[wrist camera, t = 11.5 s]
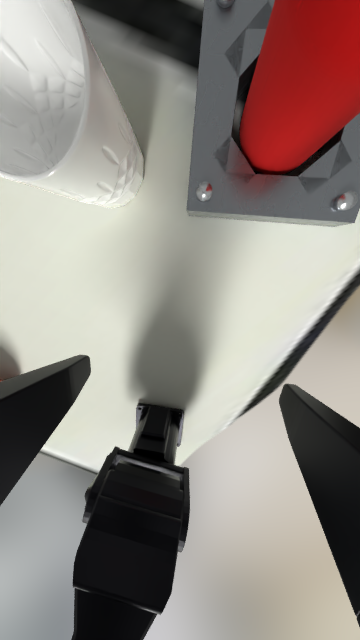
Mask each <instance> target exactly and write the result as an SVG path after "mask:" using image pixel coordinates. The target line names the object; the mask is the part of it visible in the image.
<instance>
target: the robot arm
mask: <svg viewBox="0 0 360 640" xmlns="http://www.w3.org/2000/svg"><path fill="white" fill-rule="evenodd" d="M90 373H91V367H90V358H89V356H86V355H77V356H74V357H72V358H69V359H66V360H63V361H60V362H57V363H54V364H51V365H48V366H45V367H42V368H39V369H36V370H33V371H30V372H27V373H24V374H21V375H18V376H16V377H13V378H10V379H7V380H4V381H1V382H0V505H1V504H2V503H3V501H4V500H5V498H6V497H7V496H8V494H9V493H10V491H11V490H12V489H13V487H14V486H15V485H16V483H17V482H18V480H19V479H20V478H21V476H22V475H23V473H24V472H25V471H26V469H27V468H28V466H29V465H30V464H31V462H32V461H33V459H34V458H35V457H36V455H37V454H38V452H39V451H40V450H41V448H42V447H43V445H44V444H45V443H46V441H47V440H48V438H49V437H50V436H51V434H52V433H53V431H54V430H55V429H56V427H57V426H58V425H59V423H60V422H61V420H62V419H63V418H64V416H65V415H66V413H67V412H68V411H69V409H70V408H71V406H72V405H73V403H74V402H75V400H76V398H77V397H78V395H79V393H80V391H81V390H82V388H83V386H84V385H85V383H86V381H87V379H88V378H89V376H90ZM279 404H280V408H281V412H282V415H283V419H284V423H285V427H286V430H287V434H288V438H289V441H290V443H291V446H292V449H293V451H294V454H295V457H296V459H297V462H298V465H299V467H300V470H301V473H302V475H303V478H304V481H305V483H306V486H307V488H308V491H309V494H310V496H311V499H312V501H313V504H314V507H315V510H316V512H317V514H318V518H319V520H320V523H321V525H322V528H323V531H324V533H325V536H326V539H327V541H328V544H329V547H330V549H331V552H332V555H333V557H334V560H335V562H336V565H337V568H338V570H339V573H340V576H341V578H342V581H343V584H344V586H345V589H346V592H347V594H348V597H349V600H350V602H351V605H352V607H353V610H354V613H355V615H356V616H357V621H358V624H359V627H360V428H359V427H357V426H356V425H354V424H353V423H351V422H350V421H348V420H347V419H345V418H344V417H342V416H341V415H340V414H338V413H336V412H335V411H333V410H332V409H331V408H329V407H328V406H326V405H325V404H323V403H322V402H320V401H319V400H317V399H315V398H314V397H313V396H311V395H310V394H308V393H307V392H305V391H304V390H302V389H301V388H299V387H298V386H296V385H294V384H285V385H284V386H283V389H282V393H281V395H280V398H279ZM140 407H141V408H140ZM183 418H184V412H183V411H182V410H179V409H172V408H166V407H160V406H153V405H147V404H138V405H137V408H136V431H135V434H134V437H133V439H132V442H131V445H130V447H129V450H128V451H126V450H122V449H120V448H119V447H115V448H114V449H113V451H112V453H110V454H109V455H108V456H107V457H106V460H105V462H104V464H103V466H102V468H101V470H100V472H99V473H98V475H97V476H96V478H95V479H94V480H93V482H92V483H91V484H90V486H89V487H88V489H87V491H86V493H85V500H86V506H85V512H84V516H83V522H84V523H87V526H86V529H85V531H84V534H83V537H82V540H81V542H80V545H79V547H78V550H77V553H76V557H75V562H74V571H73V587H74V588H75V600H74V633H73V636H72V640H143V639H144V637H145V636H146V634H147V632H148V630H149V628H150V626H151V625H152V623H153V621H154V619H155V617H156V615H157V614H160V615H161V613H162V612H163V610H164V608H165V605H166V604H167V601H168V599H169V597H170V595H171V592H172V584H173V579H174V572H175V566H176V559H177V552H182V550H183V548H184V544H185V541H186V536H187V530H188V523H189V513H190V495H189V493H190V492H189V469H188V468H186V467H184V468H183V467H179V466H176V465H174V464H175V457H176V449H177V447H179V446H180V443H181V434H182V426H183Z"/></svg>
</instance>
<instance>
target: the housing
mask: <svg viewBox="0 0 360 640" xmlns="http://www.w3.org/2000/svg"><path fill="white" fill-rule="evenodd" d="M274 2H275V0H204V12H203V24H202V35H201V47H200V59H199V71H198V83H197V94H196V106H195V118H194V130H193V141H192V153H191V165H190V177H189V189H188V200H187V213H188V215H189V216H199V217H212V218H226V219H239V220H252V221H265V222H278V223H291V224H304V225H318V226H331V227H335V226H341V225H346V224H351V223H355V220H356V217H357V214H358V211H359V209H360V113H359V114H358V115H357V116H355V117H354V118H353V119H352V120H351V121H350V122H349V123H348V124H346V125H345V126H344V127H343V128H342V129H341V130H340V131H339V132H337V133H336V134H335V135H334V136H333V137H332V138H331V139H330V140H328V141H327V142H326V143H325V144H324V145H323V148H322V152H321V156H320V158H318V159H317V160H316V161H315V162H314V163H313V164H311V165H310V166H309V167H308V168H307V169H305V170H304V171H303V172H302V173H301V174H300V175H298V176H281V175H263V174H255V173H254V171H253V170H252V168H251V167H250V165H249V163H248V162H247V160H246V159H245V157H244V156H243V154H242V152H241V151H240V149H239V148H238V146H237V145H236V143H235V141H234V140H233V138H232V137H231V132H232V125H233V118H234V111H235V103H236V101H237V99H238V98H239V97H240V96H241V95H242V94H243V93H244V92H245V91H246V90H247V89H248V88H249V86H250V85H251V82H252V79H253V75H254V72H255V68H256V65H257V61H258V58H259V54H260V51H261V47H262V44H263V40H264V37H265V33H266V30H267V26H268V23H269V19H270V16H271V12H272V9H273V5H274Z"/></svg>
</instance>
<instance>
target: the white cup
mask: <svg viewBox="0 0 360 640" xmlns="http://www.w3.org/2000/svg"><path fill="white" fill-rule="evenodd" d="M143 162H144V158H143V155H142V152H141V150H140V147H139V144H138V141H137V138H136V136H135V134H134V132H133V129H132V127H131V124H130V122H129V120H128V117H127V115H126V113H125V111H124V109H123V107H122V105H121V102H120V100H119V98H118V96H117V93H116V91H115V89H114V87H113V85H112V83H111V81H110V79H109V77H108V75H107V73H106V71H105V69H104V67H103V65H102V63H101V61H100V59H99V57H98V55H97V53H96V51H95V49H94V47H93V44H92V42H91V40H90V38H89V36H88V34H87V32H86V30H85V28H84V26H83V24H82V22H81V20H80V18H79V16H78V14H77V12H76V10H75V7H74V5H73V3H72V1H71V0H0V176H1V177H3V178H6V179H9V180H13V181H16V182H19V183H22V184H25V185H29V186H32V187H35V188H38V189H41V190H45V191H48V192H51V193H54V194H57V195H61V196H64V197H67V198H70V199H73V200H77V201H81V202H85V203H88V204H96V205H100V206H103V207H105V208H109V209H110V208H115V207H121V206H124V205H125V204H127V203H128V202H129V201H130V200H131V199H132V198H134V197H135V196H136V194H137V192H138V190H139V187H140V185H141V183H142V180H143Z"/></svg>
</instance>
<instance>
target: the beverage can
mask: <svg viewBox="0 0 360 640" xmlns="http://www.w3.org/2000/svg"><path fill="white" fill-rule="evenodd" d="M359 113H360V0H275V2H274V5H273V9H272V12H271V16H270V19H269V23H268V26H267V30H266V33H265V37H264V40H263V44H262V47H261V51H260V54H259V58H258V61H257V65H256V68H255V72H254V75H253V79H252V82H251V86H250V89H249V93H248V96H247V100H246V103H245V107H244V110H243V114H242V118H241V122H240V132H239V136H240V145H241V149H242V153H243V156H244V157H245V159H246V160H247V162H248V163H249V165H250V167H251V168H252V169H253V170H254V171H256V172H258V173H260V174H263V175H282V174H285V173H288V172H290V171H292V170H294V169H296V168H297V167H299V166H300V165H301V164H302V163H304V162H305V161H306V160H307V159H308V158H309V157H310V156H311V155H313V154H314V153H315V152H316V151H317V150H318V149H319V148H321V147H322V146H323V145H324V144H325V143H326V142H327V141H328V140H330V139H331V138H332V137H333V136H334V135H335V134H336V133H337V132H339V131H340V130H341V129H342V128H343V127H344V126H345V125H346V124H348V123H349V122H350V121H351V120H352V119H353V118H354V117H355V116H357V115H358V114H359Z"/></svg>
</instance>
